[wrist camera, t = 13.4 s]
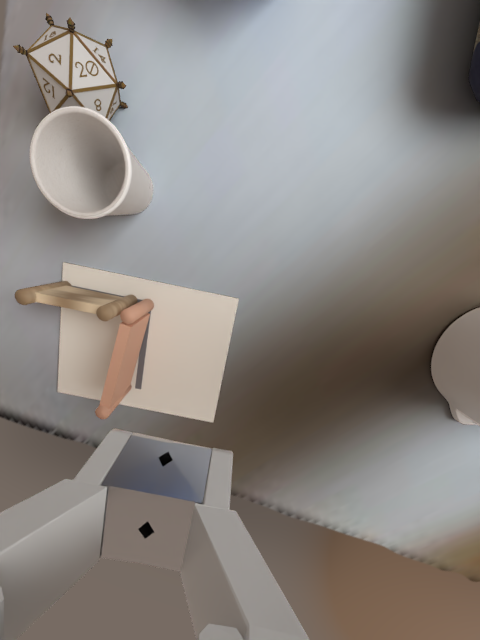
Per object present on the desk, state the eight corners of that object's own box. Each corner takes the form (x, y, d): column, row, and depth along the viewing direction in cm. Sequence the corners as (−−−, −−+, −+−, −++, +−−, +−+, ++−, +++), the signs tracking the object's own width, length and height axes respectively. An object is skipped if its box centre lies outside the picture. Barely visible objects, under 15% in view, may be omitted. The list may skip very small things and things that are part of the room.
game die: (118, 98, 34) (116, -11, 25) (137, 160, 32) (142, 70, 24) (28, 89, 30) (-13, -44, 21) (46, 159, 29) (11, 51, 20)
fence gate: (143, 296, 35) (121, 307, 29) (155, 300, 35) (136, 312, 29) (118, 389, 39) (94, 416, 32) (130, 392, 39) (107, 420, 32)
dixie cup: (106, 233, 34) (50, 228, 24) (83, 157, 32) (11, 119, 22) (173, 218, 33) (142, 207, 24) (153, 140, 31) (111, 92, 22)
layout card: (238, 298, 36) (238, 299, 35) (213, 420, 40) (213, 422, 40) (64, 262, 35) (62, 262, 34) (59, 390, 40) (57, 392, 39)
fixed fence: (139, 295, 36) (112, 307, 29) (137, 307, 36) (111, 322, 29) (60, 279, 35) (14, 287, 28) (60, 291, 36) (14, 303, 29)
